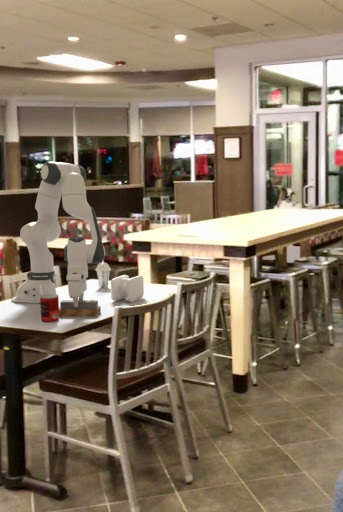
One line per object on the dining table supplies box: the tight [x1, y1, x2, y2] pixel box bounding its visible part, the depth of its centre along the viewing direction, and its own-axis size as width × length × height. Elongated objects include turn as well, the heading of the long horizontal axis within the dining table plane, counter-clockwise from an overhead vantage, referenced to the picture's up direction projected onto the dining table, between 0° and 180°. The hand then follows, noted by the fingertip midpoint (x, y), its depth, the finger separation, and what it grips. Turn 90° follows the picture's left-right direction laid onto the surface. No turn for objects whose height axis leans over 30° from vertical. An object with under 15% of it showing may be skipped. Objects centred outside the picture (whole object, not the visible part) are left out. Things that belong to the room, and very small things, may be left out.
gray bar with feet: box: [59, 299, 99, 309], centre depth 305 cm, size 16×4×6 cm, turn 85°
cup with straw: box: [95, 259, 112, 289], centre depth 369 cm, size 8×9×20 cm
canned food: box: [39, 293, 60, 323], centre depth 294 cm, size 8×8×11 cm
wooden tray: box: [59, 305, 102, 318], centre depth 305 cm, size 18×8×3 cm, turn 85°
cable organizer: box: [110, 274, 145, 303], centre depth 336 cm, size 15×11×12 cm
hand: (78, 304), depth 305 cm, fingers open, 8 cm apart
